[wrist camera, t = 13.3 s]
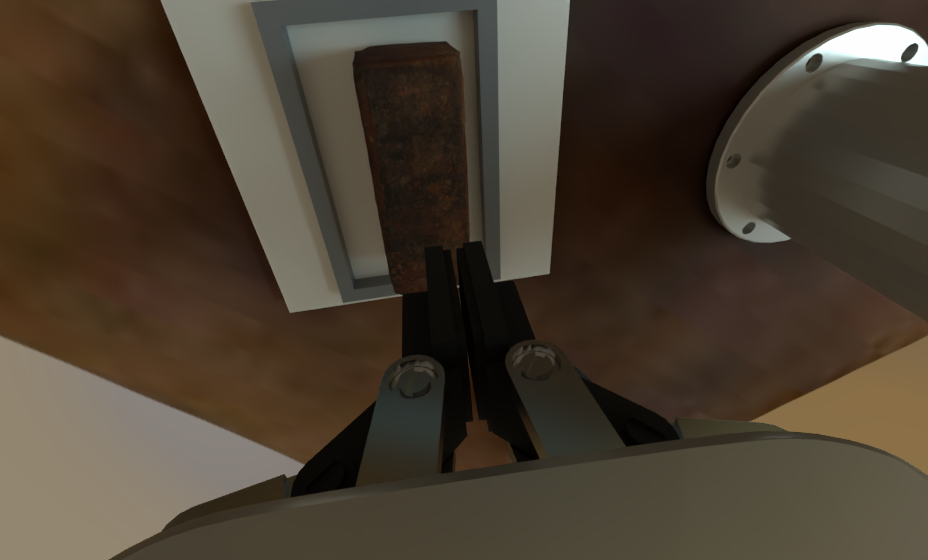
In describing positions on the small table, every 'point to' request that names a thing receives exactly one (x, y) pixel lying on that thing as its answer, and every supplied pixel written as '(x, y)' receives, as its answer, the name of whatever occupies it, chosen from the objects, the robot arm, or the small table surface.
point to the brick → (415, 152)
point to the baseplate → (342, 136)
